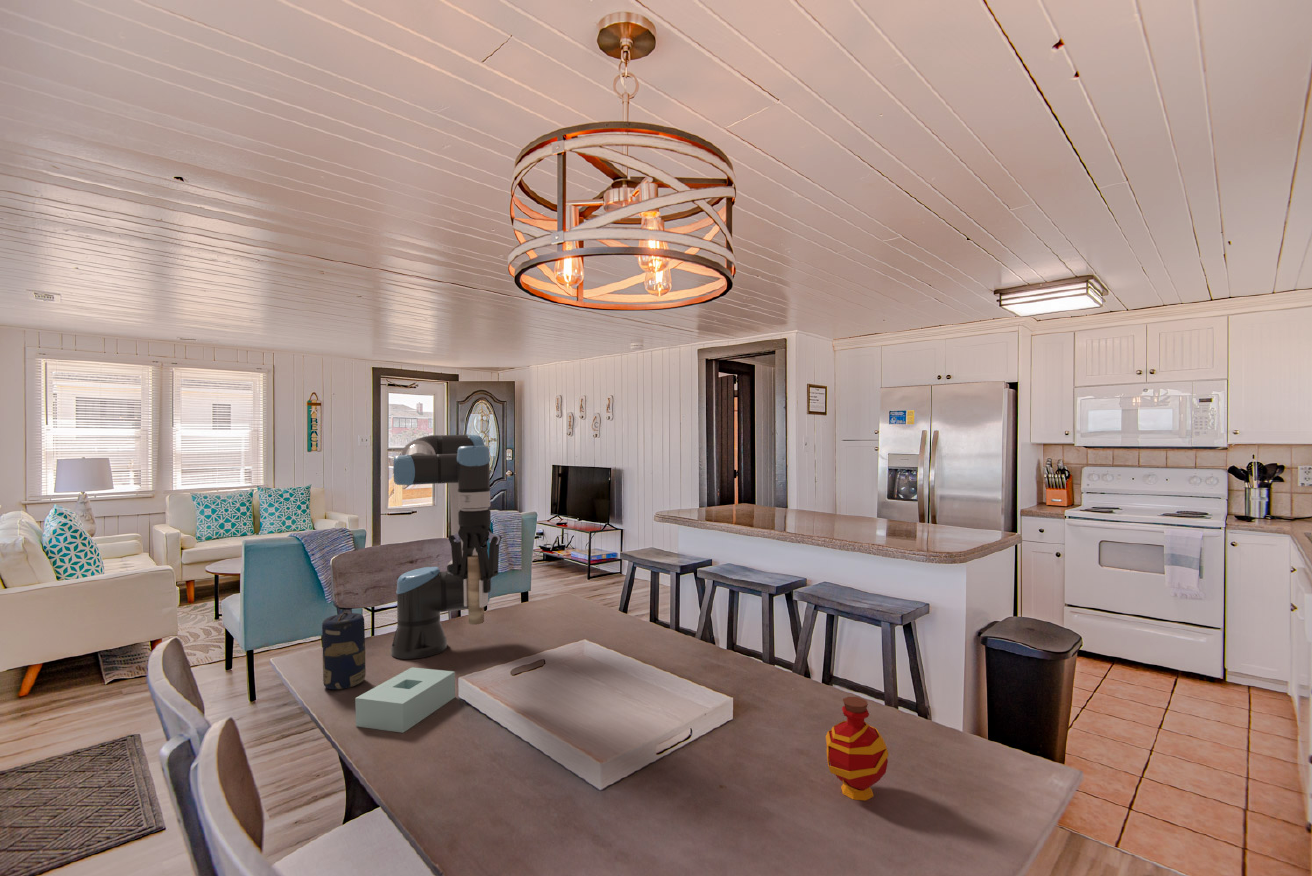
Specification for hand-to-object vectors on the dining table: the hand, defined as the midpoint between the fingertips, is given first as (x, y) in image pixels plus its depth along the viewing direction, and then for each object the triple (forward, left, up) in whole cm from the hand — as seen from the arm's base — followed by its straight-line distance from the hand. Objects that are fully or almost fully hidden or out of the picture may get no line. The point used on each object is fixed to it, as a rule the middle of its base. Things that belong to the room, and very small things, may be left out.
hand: (476, 605), depth 146 cm
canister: (+5, -35, -21) cm, 41 cm away
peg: (0, 0, -4) cm, 4 cm away
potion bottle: (+22, +87, -21) cm, 92 cm away
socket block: (+14, -9, -20) cm, 26 cm away
